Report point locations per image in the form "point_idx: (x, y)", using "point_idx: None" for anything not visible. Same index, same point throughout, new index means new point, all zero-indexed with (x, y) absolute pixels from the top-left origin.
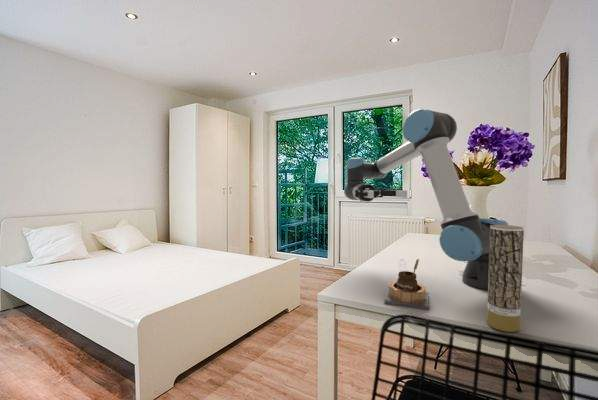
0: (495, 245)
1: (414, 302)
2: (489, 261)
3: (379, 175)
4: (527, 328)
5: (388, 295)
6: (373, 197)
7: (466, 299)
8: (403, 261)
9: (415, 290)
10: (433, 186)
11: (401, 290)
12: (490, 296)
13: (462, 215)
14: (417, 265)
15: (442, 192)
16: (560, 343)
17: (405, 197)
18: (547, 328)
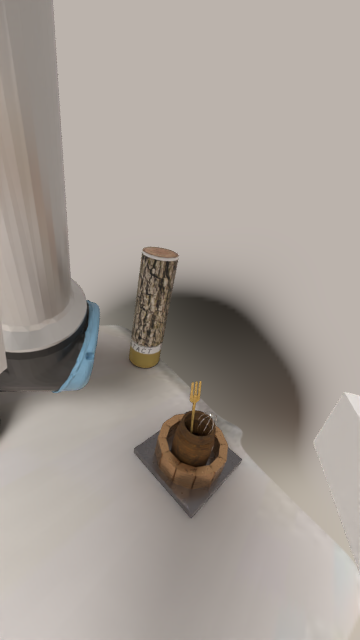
0: (174, 278)
1: None
2: (166, 302)
3: None
4: (124, 350)
5: (222, 474)
6: (317, 438)
7: (90, 411)
8: (202, 420)
9: (187, 427)
10: (45, 212)
11: (217, 432)
12: (162, 336)
13: (71, 279)
14: (190, 395)
15: (67, 230)
16: (131, 334)
17: (4, 364)
18: (106, 342)
